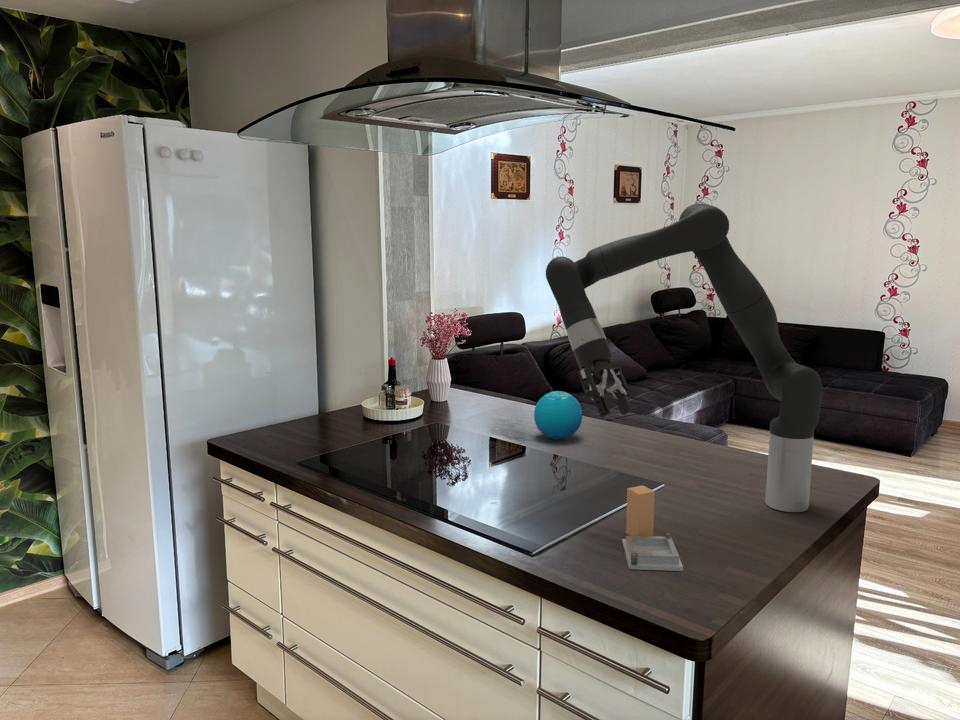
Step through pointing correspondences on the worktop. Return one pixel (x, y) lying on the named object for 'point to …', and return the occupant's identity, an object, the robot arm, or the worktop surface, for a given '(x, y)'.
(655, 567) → the plate
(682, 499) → the worktop surface
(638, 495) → the tan block
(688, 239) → the robot arm
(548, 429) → the decorative orb
